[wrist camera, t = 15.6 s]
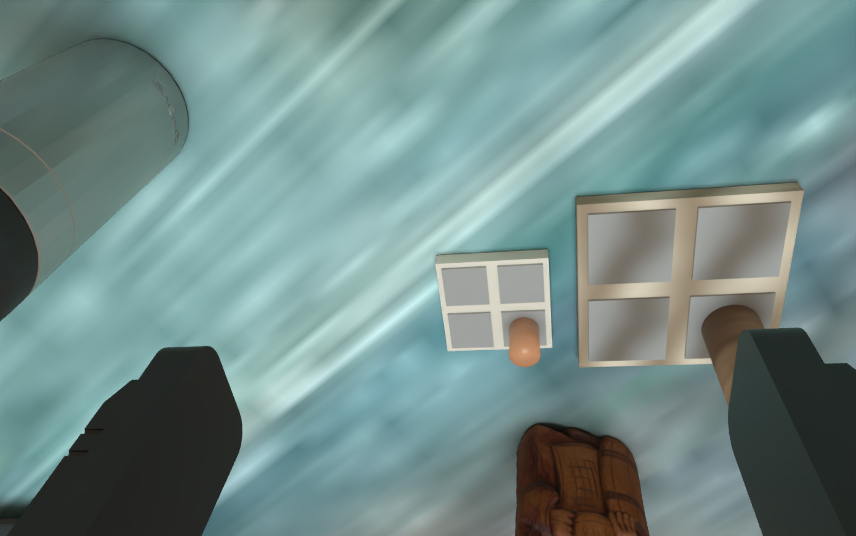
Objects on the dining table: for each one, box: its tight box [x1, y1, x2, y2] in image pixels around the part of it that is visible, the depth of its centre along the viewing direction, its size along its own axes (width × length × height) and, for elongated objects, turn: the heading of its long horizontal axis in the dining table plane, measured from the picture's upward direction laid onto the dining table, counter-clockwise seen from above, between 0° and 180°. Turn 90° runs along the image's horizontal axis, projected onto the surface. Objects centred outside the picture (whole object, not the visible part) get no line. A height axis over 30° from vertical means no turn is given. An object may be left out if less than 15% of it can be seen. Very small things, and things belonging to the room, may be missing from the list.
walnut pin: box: [701, 305, 765, 407], centre depth 45 cm, size 4×4×8 cm
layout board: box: [576, 182, 804, 367], centre depth 48 cm, size 14×14×1 cm
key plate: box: [435, 249, 552, 367], centre depth 49 cm, size 8×8×4 cm
